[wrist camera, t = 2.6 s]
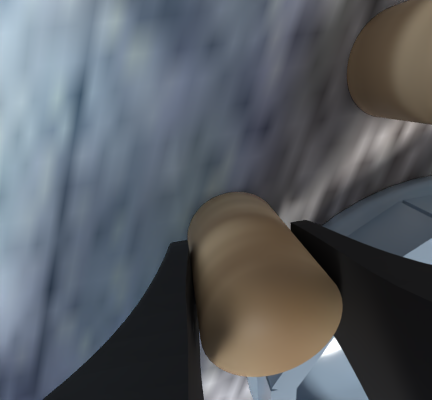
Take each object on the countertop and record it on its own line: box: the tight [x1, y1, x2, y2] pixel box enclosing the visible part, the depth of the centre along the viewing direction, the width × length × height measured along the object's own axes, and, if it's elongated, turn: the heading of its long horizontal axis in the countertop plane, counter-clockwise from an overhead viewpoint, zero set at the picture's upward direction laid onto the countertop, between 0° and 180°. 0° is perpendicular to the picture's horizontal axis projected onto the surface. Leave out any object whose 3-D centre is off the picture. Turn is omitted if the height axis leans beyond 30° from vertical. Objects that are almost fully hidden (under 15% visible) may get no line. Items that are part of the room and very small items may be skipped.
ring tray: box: [247, 175, 432, 400], centre depth 16 cm, size 20×20×4 cm
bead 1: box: [187, 192, 343, 377], centre depth 10 cm, size 4×4×5 cm
